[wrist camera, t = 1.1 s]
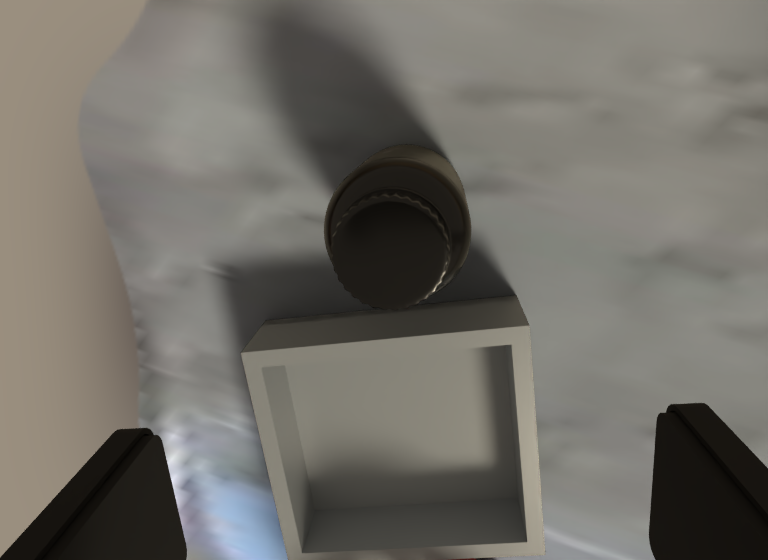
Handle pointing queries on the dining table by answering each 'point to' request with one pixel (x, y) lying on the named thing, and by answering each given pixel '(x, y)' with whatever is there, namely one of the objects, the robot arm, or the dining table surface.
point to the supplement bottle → (398, 227)
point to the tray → (401, 431)
